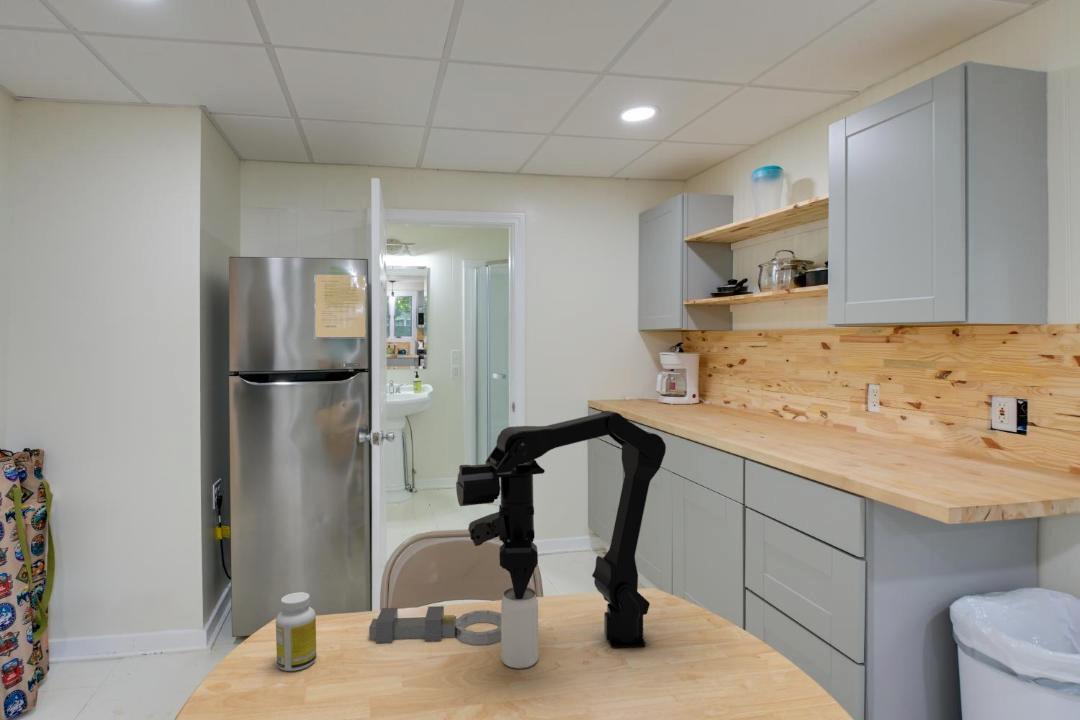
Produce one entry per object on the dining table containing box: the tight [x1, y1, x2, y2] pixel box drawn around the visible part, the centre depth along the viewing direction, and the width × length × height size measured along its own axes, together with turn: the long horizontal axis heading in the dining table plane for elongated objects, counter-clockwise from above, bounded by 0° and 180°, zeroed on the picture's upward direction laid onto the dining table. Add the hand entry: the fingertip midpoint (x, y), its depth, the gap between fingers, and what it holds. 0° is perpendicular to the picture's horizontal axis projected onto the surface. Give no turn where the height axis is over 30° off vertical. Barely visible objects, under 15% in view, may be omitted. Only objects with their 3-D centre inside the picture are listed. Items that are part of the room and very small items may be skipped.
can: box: [500, 586, 539, 670], centre depth 107 cm, size 6×6×12 cm
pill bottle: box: [275, 591, 317, 672], centre depth 107 cm, size 6×6×12 cm
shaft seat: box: [368, 605, 501, 646], centre depth 117 cm, size 26×10×4 cm, turn 94°
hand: (518, 587), depth 107 cm, fingers open, 9 cm apart
